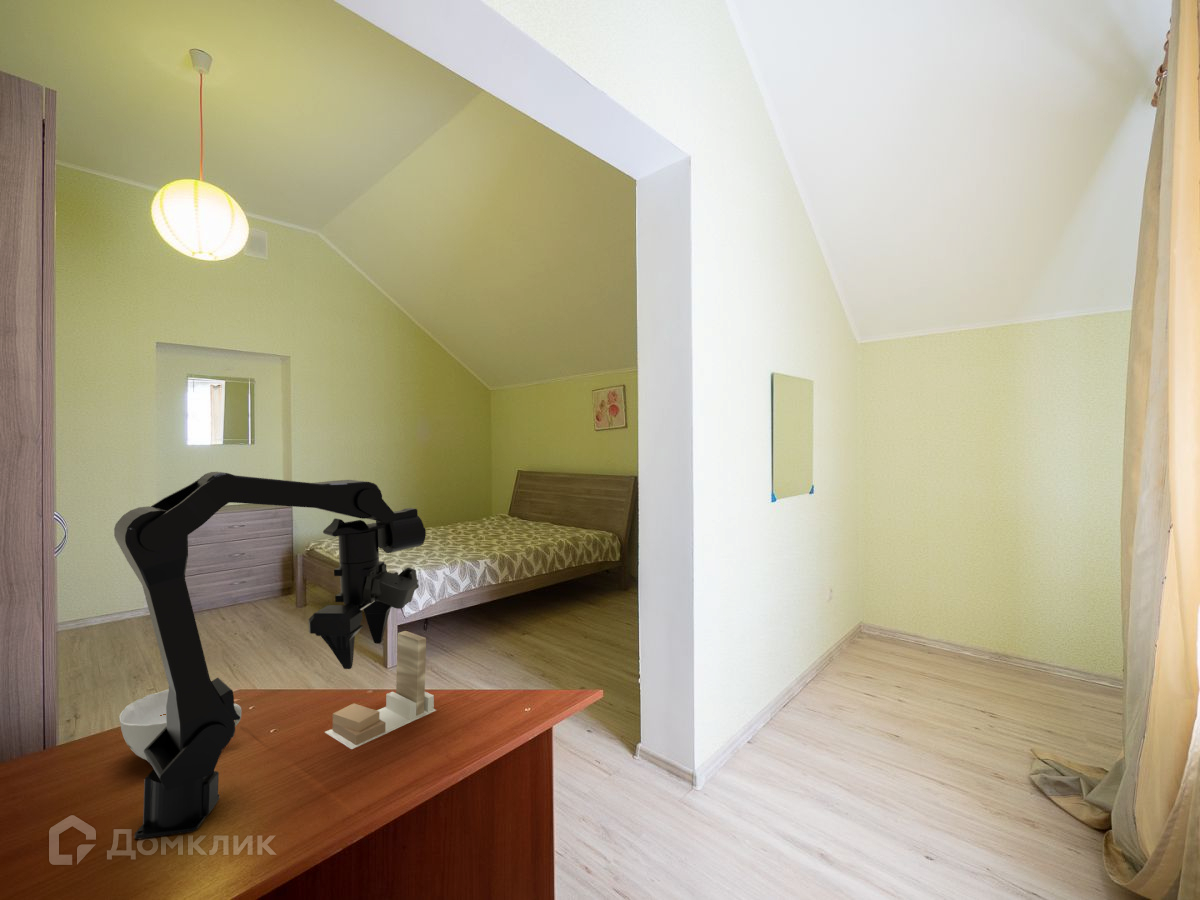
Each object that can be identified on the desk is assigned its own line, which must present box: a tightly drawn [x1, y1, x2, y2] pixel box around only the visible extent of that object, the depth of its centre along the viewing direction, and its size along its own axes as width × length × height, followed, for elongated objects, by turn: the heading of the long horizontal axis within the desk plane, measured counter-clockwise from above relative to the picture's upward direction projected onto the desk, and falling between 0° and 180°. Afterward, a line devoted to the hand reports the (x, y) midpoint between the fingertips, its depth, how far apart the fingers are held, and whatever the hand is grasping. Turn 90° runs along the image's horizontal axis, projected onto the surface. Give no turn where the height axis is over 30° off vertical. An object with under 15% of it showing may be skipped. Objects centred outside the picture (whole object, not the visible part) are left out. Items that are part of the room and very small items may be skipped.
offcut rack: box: [324, 691, 437, 750], centre depth 89 cm, size 16×8×4 cm, turn 145°
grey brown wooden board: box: [395, 630, 427, 716], centre depth 93 cm, size 2×6×13 cm, turn 54°
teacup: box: [118, 688, 243, 762], centre depth 80 cm, size 15×12×8 cm
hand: (363, 655), depth 84 cm, fingers open, 9 cm apart
